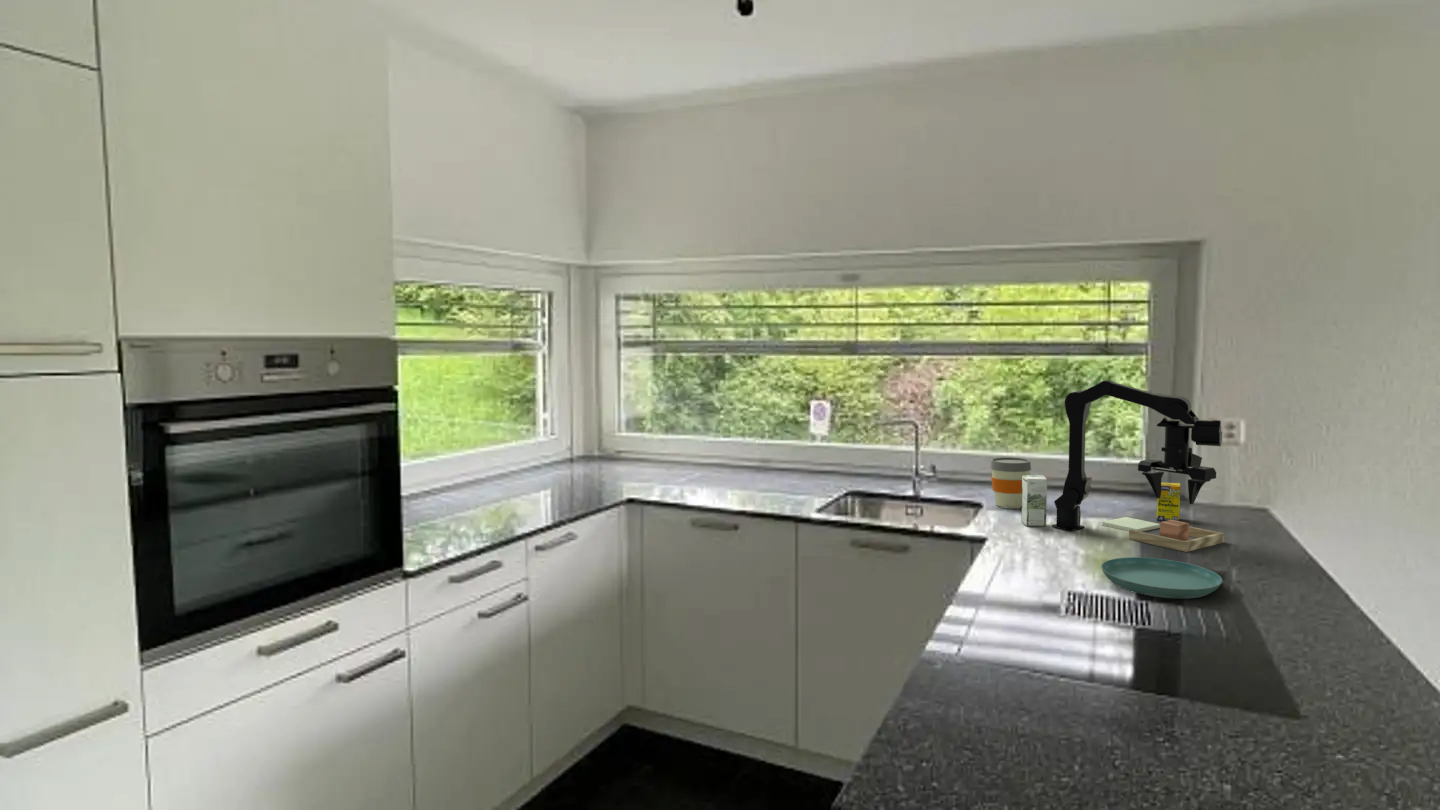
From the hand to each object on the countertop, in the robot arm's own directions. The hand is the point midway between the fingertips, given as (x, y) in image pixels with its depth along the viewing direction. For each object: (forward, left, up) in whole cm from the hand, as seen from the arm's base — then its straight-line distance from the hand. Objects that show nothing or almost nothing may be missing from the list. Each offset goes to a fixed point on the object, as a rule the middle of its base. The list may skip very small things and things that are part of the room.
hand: (1174, 501), depth 225 cm
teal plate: (-39, -21, -11) cm, 46 cm away
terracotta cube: (0, 0, -11) cm, 11 cm away
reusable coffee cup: (-1, +55, -11) cm, 56 cm away
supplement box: (+21, +15, -11) cm, 28 cm away
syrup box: (-16, +33, -11) cm, 38 cm away
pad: (+5, +16, -11) cm, 20 cm away
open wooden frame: (0, 0, -11) cm, 11 cm away
